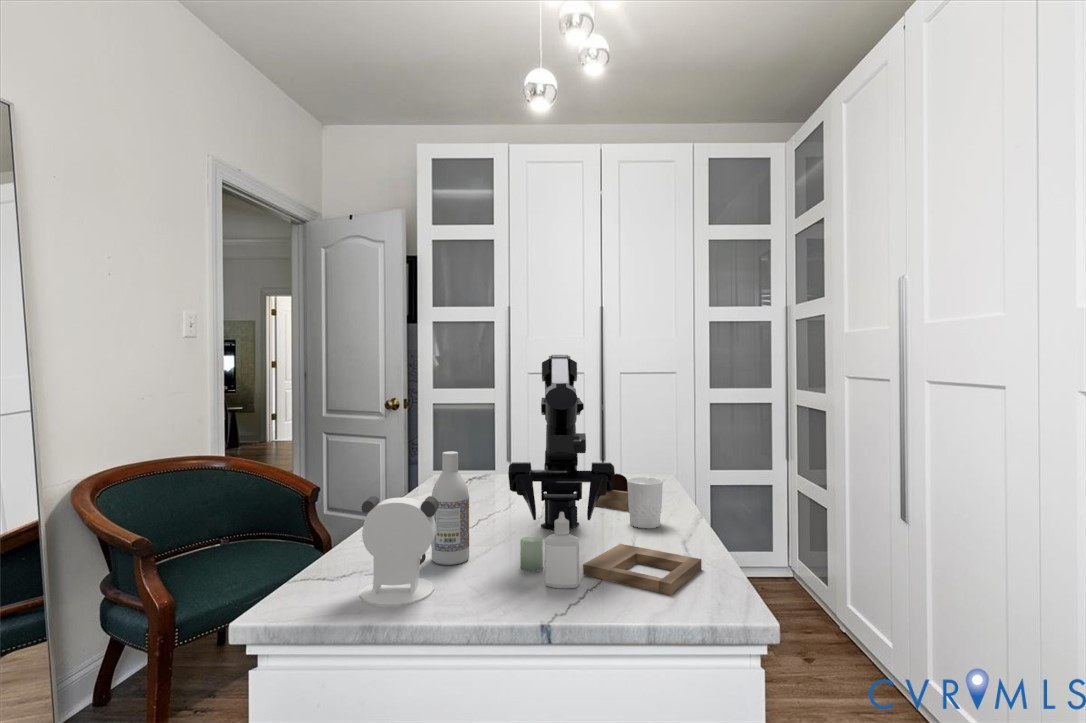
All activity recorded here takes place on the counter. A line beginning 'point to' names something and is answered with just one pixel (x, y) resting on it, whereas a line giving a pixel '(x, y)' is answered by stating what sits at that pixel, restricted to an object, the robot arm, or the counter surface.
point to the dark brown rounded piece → (620, 483)
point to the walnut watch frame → (614, 500)
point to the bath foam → (451, 514)
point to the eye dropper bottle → (561, 556)
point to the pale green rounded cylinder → (531, 554)
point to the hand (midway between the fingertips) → (561, 519)
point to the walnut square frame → (625, 556)
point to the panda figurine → (398, 549)
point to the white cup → (645, 501)
